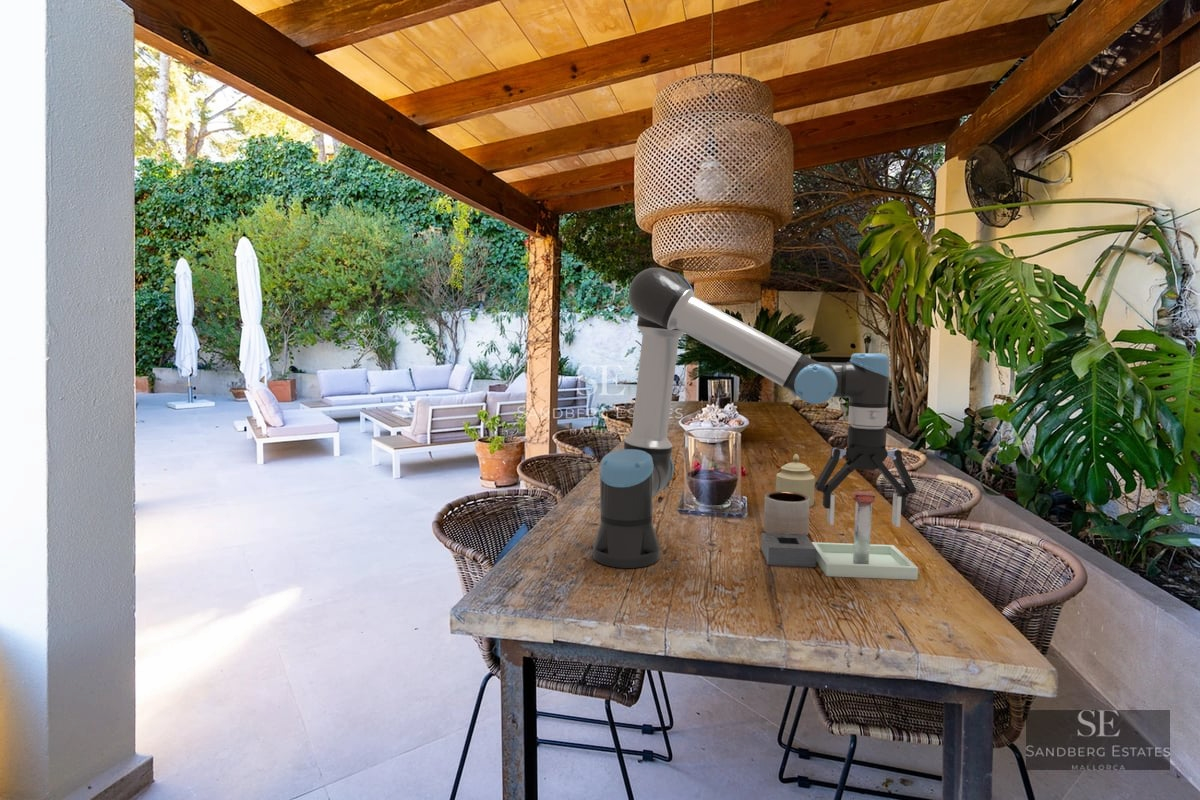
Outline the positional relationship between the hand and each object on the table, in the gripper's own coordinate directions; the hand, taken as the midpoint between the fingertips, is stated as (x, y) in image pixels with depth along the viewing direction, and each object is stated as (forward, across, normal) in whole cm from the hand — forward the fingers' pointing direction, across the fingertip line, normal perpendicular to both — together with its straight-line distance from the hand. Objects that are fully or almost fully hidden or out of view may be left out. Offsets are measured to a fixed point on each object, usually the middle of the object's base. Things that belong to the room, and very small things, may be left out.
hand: (862, 524), depth 133 cm
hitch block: (+9, -15, +3) cm, 18 cm away
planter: (+10, -12, +21) cm, 26 cm away
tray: (+9, 0, 0) cm, 9 cm away
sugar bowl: (+10, -5, +52) cm, 54 cm away
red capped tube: (+9, 0, 0) cm, 9 cm away
